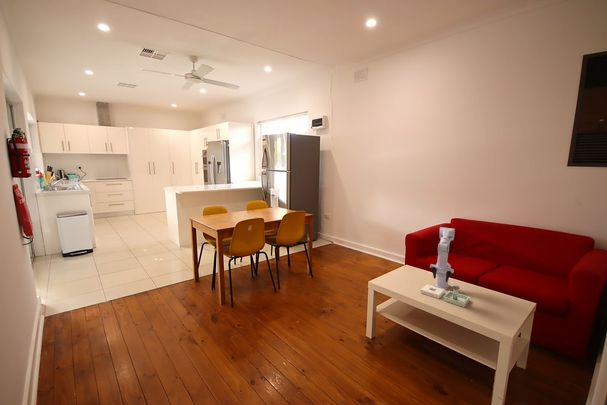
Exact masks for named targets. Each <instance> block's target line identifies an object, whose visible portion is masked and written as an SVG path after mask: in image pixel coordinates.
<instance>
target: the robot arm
mask: <svg viewBox="0 0 607 405" xmlns="http://www.w3.org/2000/svg"><path fill="white" fill-rule="evenodd" d="M455 230H456V229H455V228H449V227H442V226H440V227H439V239H440V241H439V243H438V246H437V254H438V255H437V262H436V264H432V263H431V264H429V265H430V266H429V268H431V270H430V271H431V272H432V277H433V279H436V282H435V284H434V285H433V286H435V287H438V288H441V289H445V290H447V289H448V288H449V287H450V284H449V279H450V277H451V275H452V274H454V272H455V271H454V270H455V269H453V268H451V267H452V266H451V264H450V263H449V262H448V258H449V257H448V256H449V252H450V243H451V242H452V241H454V239H455V232H456V231H455Z"/></svg>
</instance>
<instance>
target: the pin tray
mask: <svg viewBox="0 0 607 405" xmlns="http://www.w3.org/2000/svg"><path fill="white" fill-rule="evenodd" d="M470 298H471V297H470V296H469V295H466V294H463V293H459V292H458V300H453V290H448V291H447V292H446V293H444V294H443V296H442V301H443V302H447V303H450V304H453V305H456V306H460V307H461V308H465V307H466V306H467V304H468V303H469V302H470Z"/></svg>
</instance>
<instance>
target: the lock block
mask: <svg viewBox="0 0 607 405" xmlns="http://www.w3.org/2000/svg"><path fill="white" fill-rule="evenodd" d="M445 292H446V289H442V288H439V287H435V286H434V285H431V284H426V285H424V286H423V287H422V288H420V294H423V295H425V296H429V297H432V298H436V299H438V300H439V299H440V298H441V297H443V296H444V295H445Z"/></svg>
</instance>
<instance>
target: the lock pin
mask: <svg viewBox="0 0 607 405" xmlns="http://www.w3.org/2000/svg"><path fill="white" fill-rule="evenodd" d="M459 290H460V286H458V285H452V292H453V300H458V293H459Z"/></svg>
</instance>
